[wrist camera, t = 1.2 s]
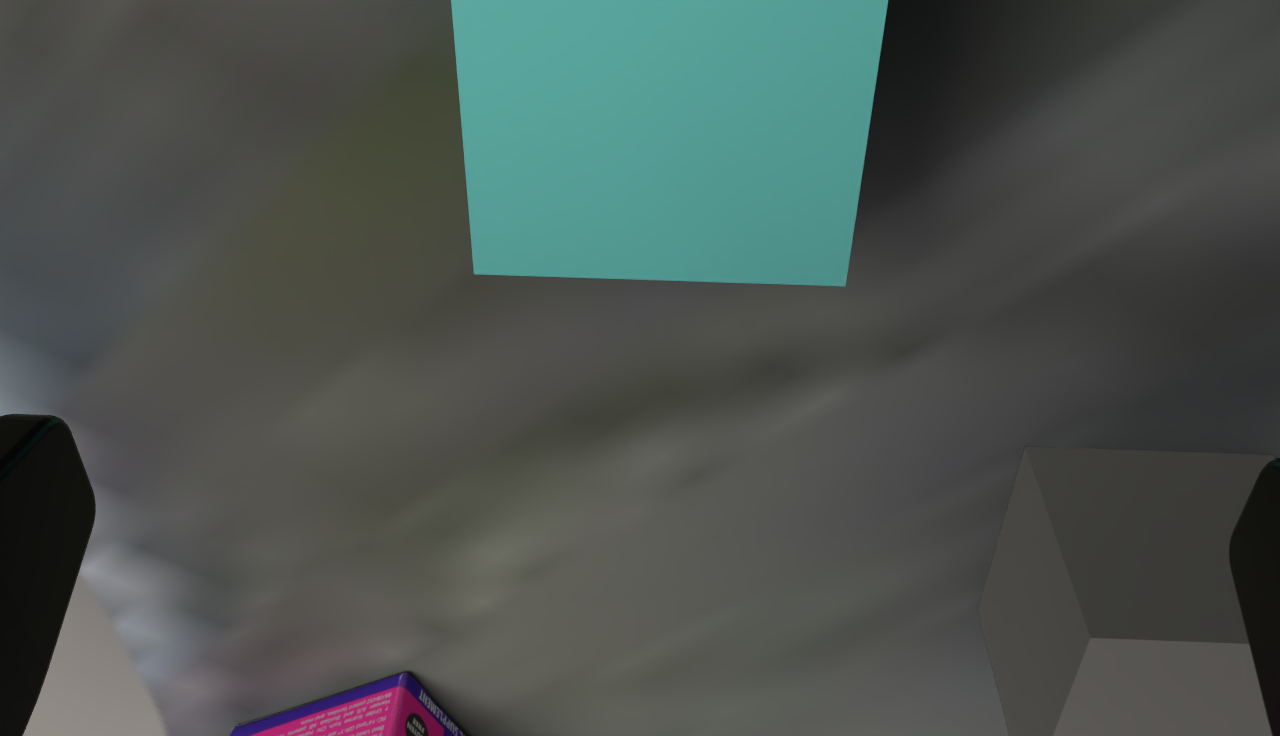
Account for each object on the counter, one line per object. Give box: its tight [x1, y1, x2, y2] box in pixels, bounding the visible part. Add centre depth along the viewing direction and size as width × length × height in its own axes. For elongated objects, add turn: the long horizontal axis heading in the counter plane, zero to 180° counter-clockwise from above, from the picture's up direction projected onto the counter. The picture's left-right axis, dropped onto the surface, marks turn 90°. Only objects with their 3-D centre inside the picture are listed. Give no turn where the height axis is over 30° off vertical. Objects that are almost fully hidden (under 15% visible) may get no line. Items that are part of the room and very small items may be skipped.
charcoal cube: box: [978, 446, 1275, 736], centre depth 23 cm, size 5×5×5 cm
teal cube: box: [451, 0, 888, 286], centre depth 16 cm, size 5×5×5 cm
